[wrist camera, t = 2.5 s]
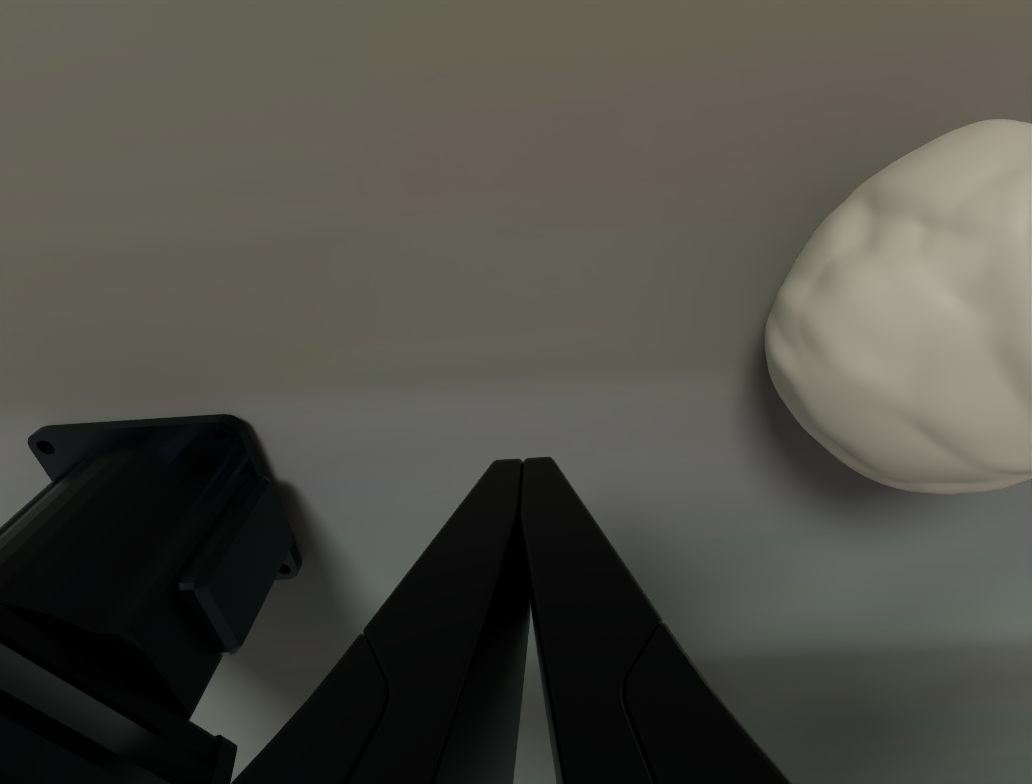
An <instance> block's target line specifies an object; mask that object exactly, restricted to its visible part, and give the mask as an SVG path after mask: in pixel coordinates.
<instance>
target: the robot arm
mask: <svg viewBox="0 0 1032 784" xmlns="http://www.w3.org/2000/svg"><path fill="white" fill-rule="evenodd" d="M222 429H224V430H227V431H228V432H230V434H231V435H228V434H226V433H225V432H224V431H223V430H222ZM28 445H29V447H30V449H31V451H32V452H33V454H34V455H35V457H36V458H37V460H38V461H39V462H40V464H41V465H42V467H43V468H44V470H45V471H46V473H47V474H48V476H49V477H50V479H51V480H52V482H51V483H50V484H49V485H48V486H47V487H46V488H44V489H43V490H42V491H41V492H40V493H39V494H38V495H37V496H35V497H34V498H33V499H32V500H31V501H30V502H29V503H28V504H26V505H25V506H24V507H23V508H22V509H21V510H20V511H19V512H17V513H16V514H15V515H14V516H13V517H12V518H11V519H10V520H9V521H7V522H6V523H5V524H4V525H3V526H2V527H1V528H0V784H230V782H231V777H232V772H233V767H234V762H235V757H236V752H237V745H236V744H234V743H233V742H231V741H230V740H228V739H226V738H225V737H223V736H222V735H217V736H213V735H212V734H210V733H209V732H207V731H205V730H204V729H202V728H201V727H199V726H197V725H196V724H194V723H193V722H191V721H189V719H190V718H191V716H192V714H193V712H194V710H195V708H196V706H197V705H198V703H199V701H200V699H201V697H202V695H203V693H204V691H205V689H206V687H207V685H208V683H209V681H210V680H211V678H212V676H213V674H214V672H215V670H216V668H217V666H218V664H219V662H220V660H221V658H222V656H223V655H232V654H234V653H236V652H237V650H238V649H239V648H240V647H241V646H242V644H243V643H244V641H245V639H246V637H247V635H248V632H249V630H250V628H251V626H252V624H253V622H254V620H255V618H256V616H257V614H258V612H259V610H260V608H261V606H262V604H263V602H264V600H265V598H266V596H267V594H268V592H269V590H270V588H271V586H272V584H273V582H274V580H279V579H291V578H294V577H295V576H297V574H298V571H299V569H300V567H301V565H302V559H301V556H300V554H299V551H298V549H297V547H296V544H295V542H294V535H293V533H292V531H291V528H290V526H289V524H288V521H287V519H286V516H285V514H284V512H283V509H282V507H281V504H280V502H279V500H278V497H277V495H276V492H275V490H274V488H273V485H272V483H271V482H270V481H269V479H268V478H267V475H266V473H265V470H264V468H263V466H262V463H261V461H260V458H259V456H258V454H257V451H256V449H255V447H254V444H253V442H252V439H251V437H250V435H249V432H248V430H247V427H246V426H245V424H244V423H243V422H242V421H241V420H240V419H239V418H237V417H235V416H232V415H228V414H218V415H203V416H188V417H172V418H157V419H142V420H127V421H112V422H96V423H81V424H66V425H51V426H44V427H41V428H40V429H39V430H37V431H36V432H35V433H33V434H32V435H31V436H30V437H29V438H28ZM530 603H531V611H532V619H533V627H534V634H535V640H536V647H537V654H538V661H539V668H540V674H541V681H542V688H543V695H544V701H545V708H546V715H547V722H548V729H549V735H550V742H551V749H552V756H553V762H554V769H555V776H556V783H557V784H792V783H791V782H790V780H789V779H788V778H787V777H786V776H785V775H784V774H783V772H782V771H781V770H780V769H779V768H778V767H777V765H776V764H775V763H774V762H773V761H772V760H771V759H770V757H769V756H768V755H767V754H766V753H765V752H764V750H763V749H762V748H761V747H760V746H759V745H758V744H757V742H756V741H755V740H754V739H753V738H752V737H751V735H750V734H749V733H748V732H747V731H746V729H745V728H744V727H743V726H742V725H741V723H740V722H739V721H738V720H737V719H736V717H735V716H734V715H733V714H732V712H731V711H730V710H729V709H728V708H727V706H726V705H725V704H724V703H723V702H722V700H721V699H720V698H719V697H718V695H717V694H716V693H715V692H714V691H713V689H712V688H711V687H710V685H709V684H708V683H707V681H706V680H705V679H704V677H703V676H702V674H701V673H700V672H699V670H698V669H697V668H696V666H695V665H694V663H693V662H692V661H691V659H690V658H689V657H688V655H687V654H686V653H685V651H684V650H683V648H682V647H681V645H680V644H679V642H678V641H677V640H676V638H675V637H674V635H673V634H672V632H671V631H670V629H669V628H668V626H667V625H666V624H664V623H662V618H661V617H660V615H659V614H658V612H657V611H656V609H655V608H654V606H653V605H652V603H651V602H650V600H649V599H648V598H647V596H646V595H645V593H644V592H643V590H642V589H641V587H640V586H639V584H638V583H637V581H636V580H635V578H634V577H633V576H632V574H631V573H630V571H629V570H628V568H627V567H626V565H625V564H624V562H623V561H622V559H621V558H620V556H619V555H618V554H617V552H616V551H615V549H614V548H613V546H612V545H611V543H610V542H609V540H608V539H607V537H606V536H605V534H604V533H603V532H602V530H601V529H600V527H599V526H598V524H597V523H596V521H595V520H594V518H593V517H592V515H591V514H590V512H589V511H588V510H587V508H586V507H585V505H584V504H583V502H582V501H581V499H580V498H579V496H578V495H577V493H576V492H575V490H574V489H573V488H572V486H571V485H570V483H569V482H568V480H567V479H566V477H565V476H564V474H563V473H562V471H561V470H560V468H559V467H558V466H557V464H556V463H555V461H554V460H553V459H552V458H551V457H536V458H527V459H525V460H524V462H522V460H520V459H503V460H496V461H494V462H493V463H492V464H491V465H490V467H489V468H488V469H487V470H486V472H485V473H484V474H483V476H482V477H481V478H480V479H479V481H478V482H477V483H476V485H475V486H474V487H473V489H472V490H471V491H470V492H469V494H468V495H467V496H466V498H465V499H464V500H463V502H462V503H461V504H460V505H459V507H458V508H457V509H456V511H455V512H454V513H453V514H452V516H451V517H450V518H449V520H448V521H447V522H446V524H445V525H444V526H443V527H442V529H441V530H440V531H439V533H438V534H437V535H436V536H435V538H434V539H433V540H432V542H431V543H430V544H429V546H428V547H427V548H426V549H425V551H424V552H423V553H422V555H421V556H420V557H419V559H418V560H417V561H416V562H415V564H414V565H413V566H412V568H411V569H410V570H409V571H408V573H407V574H406V575H405V577H404V578H403V579H402V581H401V582H400V583H399V584H398V586H397V587H396V588H395V590H394V591H393V592H392V594H391V595H390V596H389V597H388V599H387V600H386V601H385V603H384V604H383V605H382V606H381V608H380V609H379V610H378V612H377V613H376V614H375V616H374V617H373V618H372V619H371V621H370V622H369V623H368V625H367V626H366V627H365V629H364V634H360V635H359V636H358V637H357V638H356V640H355V641H354V642H353V644H352V645H351V646H350V648H349V649H348V650H347V651H346V653H345V654H344V655H343V657H342V658H341V659H340V660H339V662H338V663H337V664H336V665H335V667H334V668H333V669H332V670H331V671H330V673H329V674H328V675H327V676H326V678H325V679H324V680H323V681H322V683H321V684H320V685H319V686H318V687H317V689H316V690H315V691H314V692H313V694H312V695H311V696H310V697H309V698H308V700H307V701H306V702H305V703H304V704H303V705H302V706H301V707H300V709H299V710H298V711H297V712H296V713H295V714H294V715H293V716H292V718H291V719H290V720H289V721H288V722H287V723H286V724H285V725H284V726H283V728H282V729H281V730H280V731H279V732H278V733H277V734H276V735H275V737H274V738H273V739H272V740H271V741H270V742H269V743H268V744H267V745H266V746H265V748H264V749H263V750H262V751H261V752H260V753H259V754H258V755H257V756H256V757H255V758H254V759H253V760H252V761H251V763H250V764H249V765H248V766H247V767H246V768H245V769H244V770H243V771H242V772H241V773H240V774H239V775H238V777H237V778H236V779H235V780H234V781H233V782H232V783H231V784H513V778H514V769H515V759H516V750H517V740H518V730H519V721H520V711H521V702H522V692H523V682H524V673H525V663H526V654H527V644H528V635H529V623H530Z"/></svg>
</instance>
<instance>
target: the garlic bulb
mask: <svg viewBox="0 0 1032 784" xmlns="http://www.w3.org/2000/svg"><path fill="white" fill-rule="evenodd" d="M765 354H766V359H767V365H768V370H769V374H770V377H771V380H772V382H773V384H774V386H775V388H776V390H777V392H778V394H779V395H780V397H781V399H782V400H783V402H784V403H785V405H786V406H787V408H788V409H789V410H790V412H791V413H792V415H793V416H794V417H795V419H796V420H797V421H798V422H799V424H800V425H801V426H802V427H803V428H804V429H805V430H806V431H807V432H808V433H809V434H810V435H811V436H812V437H813V438H814V439H816V440H817V441H818V442H819V443H820V444H821V445H822V446H823V447H824V448H826V449H827V450H828V451H829V452H830V453H831V454H833V455H834V456H835V457H836V458H837V459H839V460H840V461H841V462H843V463H844V464H845V465H847V466H848V467H850V468H851V469H853V470H855V471H856V472H858V473H860V474H861V475H863V476H865V477H867V478H869V479H871V480H873V481H876V482H878V483H881V484H884V485H887V486H890V487H893V488H897V489H901V490H906V491H912V492H918V493H928V494H966V493H979V492H988V491H994V490H998V489H1003V488H1006V487H1010V486H1013V485H1016V484H1019V483H1022V482H1025V481H1027V480H1030V479H1032V124H1030V123H1025V122H1020V121H1014V120H1004V119H995V120H985V121H980V122H976V123H973V124H970V125H967V126H964V127H961V128H958V129H956V130H953V131H951V132H948V133H946V134H944V135H942V136H940V137H938V138H936V139H934V140H932V141H930V142H929V143H927V144H925V145H923V146H921V147H920V148H918V149H916V150H914V151H912V152H910V153H908V154H907V155H905V156H903V157H901V158H900V159H898V160H896V161H895V162H893V163H892V164H890V165H888V166H887V167H885V168H884V169H882V170H881V171H879V172H878V173H876V174H875V175H873V176H872V177H871V178H869V179H868V180H866V181H865V182H864V183H862V184H861V185H860V186H859V187H857V188H856V189H855V190H854V191H853V192H852V193H851V194H850V195H849V197H848V198H847V199H846V200H845V201H844V202H843V203H842V204H841V205H840V206H838V207H837V208H836V209H835V210H834V211H833V212H832V213H830V214H829V215H828V216H827V217H826V218H825V220H824V221H823V222H822V223H821V224H820V225H819V227H818V228H817V229H816V230H815V232H814V233H813V235H812V236H811V237H810V239H809V240H808V242H807V243H806V245H805V246H804V248H803V249H802V251H801V252H800V254H799V256H798V257H797V259H796V261H795V262H794V264H793V266H792V268H791V270H790V272H789V273H788V275H787V277H786V279H785V280H784V282H783V284H782V286H781V288H780V289H779V291H778V293H777V296H776V298H775V302H774V305H773V307H772V310H771V312H770V314H769V317H768V320H767V323H766V328H765Z"/></svg>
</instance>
